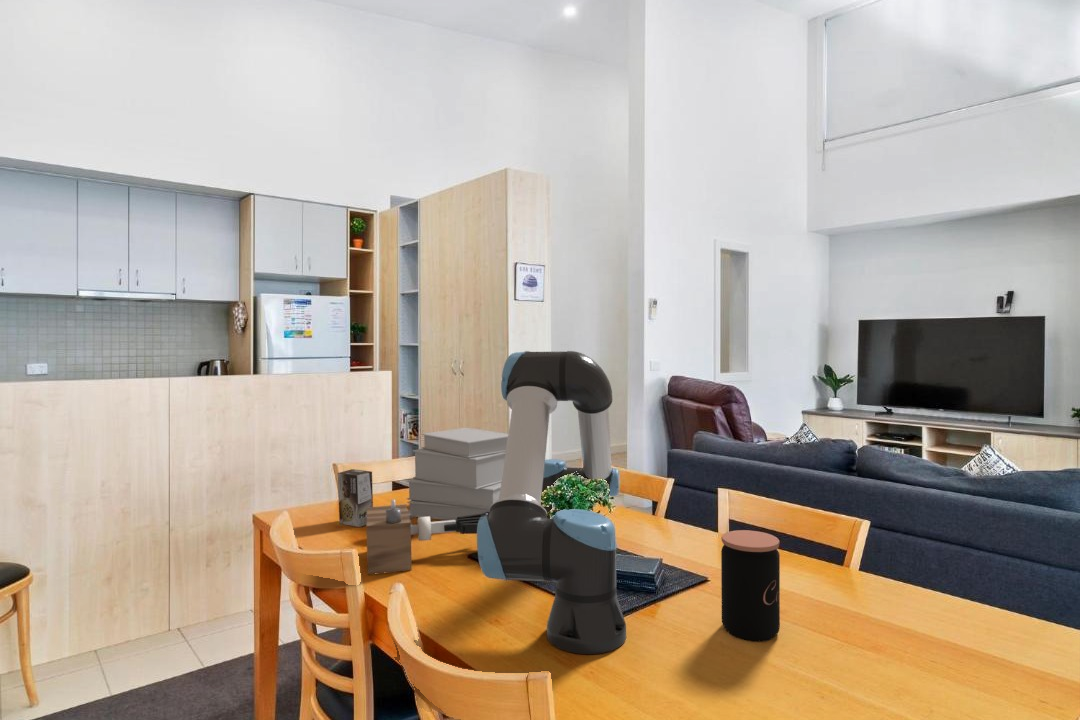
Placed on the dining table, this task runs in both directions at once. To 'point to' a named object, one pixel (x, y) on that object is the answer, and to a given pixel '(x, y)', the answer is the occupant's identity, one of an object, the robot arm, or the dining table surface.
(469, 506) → the book stack
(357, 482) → the coffee box
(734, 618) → the coffee jar
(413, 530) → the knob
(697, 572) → the dining table surface
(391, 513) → the potentiometer
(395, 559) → the block
